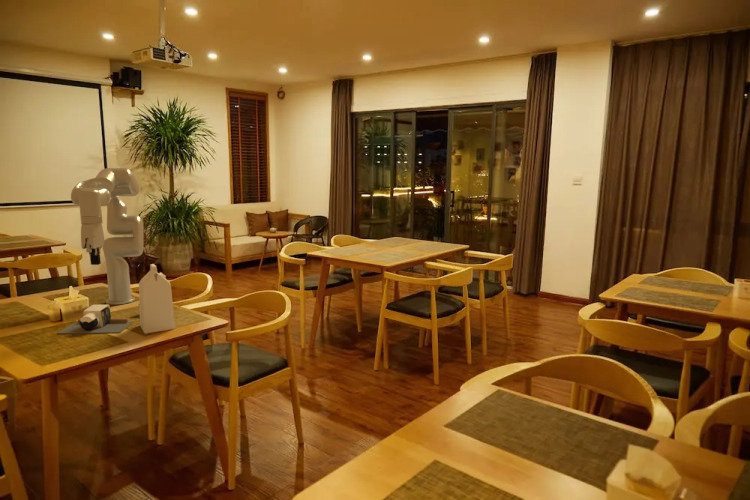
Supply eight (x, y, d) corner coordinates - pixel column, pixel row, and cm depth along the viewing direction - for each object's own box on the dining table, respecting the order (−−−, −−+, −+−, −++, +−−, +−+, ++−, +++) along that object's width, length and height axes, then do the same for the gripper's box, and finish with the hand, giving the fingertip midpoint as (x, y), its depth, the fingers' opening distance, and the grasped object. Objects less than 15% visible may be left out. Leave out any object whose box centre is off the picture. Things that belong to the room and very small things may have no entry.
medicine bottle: (112, 320, 208) (96, 332, 196) (95, 319, 208) (78, 332, 196) (109, 304, 206) (93, 316, 194) (92, 304, 206) (75, 315, 194)
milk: (140, 325, 205) (135, 264, 200) (169, 320, 211) (165, 261, 207) (144, 333, 195) (140, 269, 191) (175, 328, 201) (171, 266, 197)
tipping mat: (74, 323, 206) (74, 319, 206) (133, 322, 208) (133, 318, 208) (56, 334, 193) (56, 329, 193) (119, 333, 195) (119, 328, 195)
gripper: (91, 217, 206) (95, 260, 209) (72, 222, 191) (76, 268, 195) (109, 217, 207) (113, 260, 210) (92, 222, 192) (96, 268, 195)
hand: (95, 264), depth 202 cm, fingers closed
